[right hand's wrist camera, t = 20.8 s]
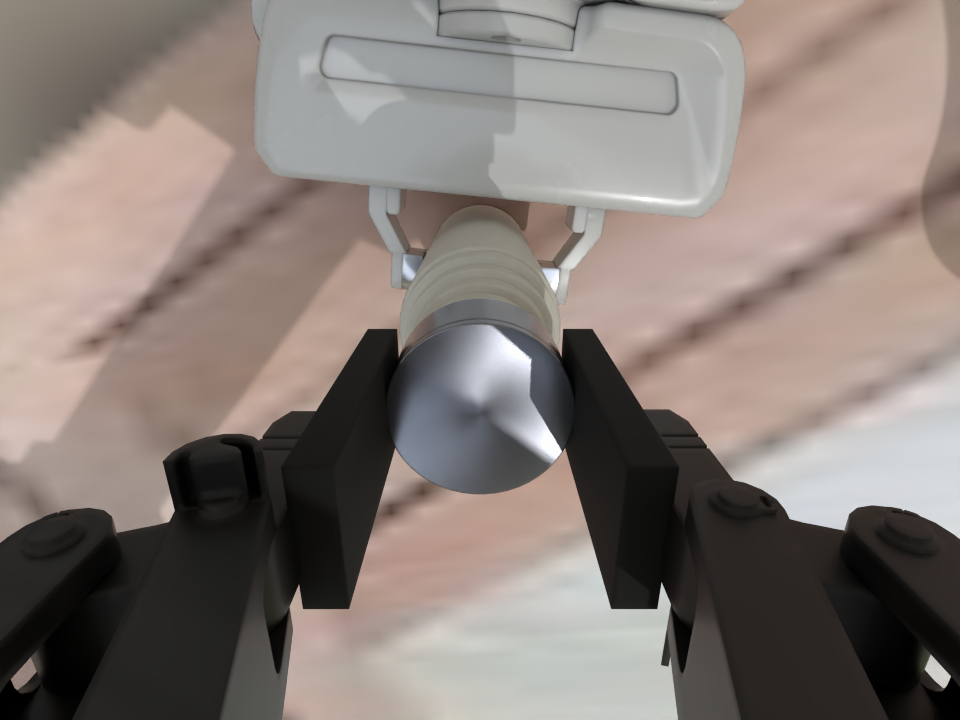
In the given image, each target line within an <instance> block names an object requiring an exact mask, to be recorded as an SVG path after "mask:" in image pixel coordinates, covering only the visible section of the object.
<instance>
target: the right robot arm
mask: <svg viewBox="0 0 960 720" xmlns="http://www.w3.org/2000/svg"><path fill="white" fill-rule="evenodd" d="M398 359H399V354H398V337H397V329H368V330H367V331H366V333H365V335H364V336H363V338H362V339H361V341H360V343H359V344H358V346H357V347H356V349H355V351H354V352H353V354H352V355H351V357H350V358H349V360H348V362H347V363H346V365H345V366H344V368H343V370H342V371H341V373H340V374H339V376H338V377H337V379H336V381H335V382H334V384H333V385H332V387H331V389H330V390H329V392H328V393H327V395H326V396H325V398H324V400H323V401H322V403H321V404H320V406H319V408H318V409H317V411H291V412H290V413H288V414H286V415H285V416H283V417H282V418H280V419H278V420H277V421H275V422H273V423H272V425H271V426H270V427H269V429H268V430H267V431H266V433H265V434H264V435H263V439H260V440H257V439H256V438H255V437H252V436H248V435H243V434H222V435H216V436H211V437H205V438H202V439H199V440H196V441H194V442H191V443H188V444H186V445H184V446H182V447H181V448H179V449H177V450H175V451H173V452H172V453H171V454H170V455H169V456H168V457H167V458H166V459H165V460H164V461H163V465H164V469H165V473H166V477H167V481H168V485H169V489H170V493H171V497H172V501H173V505H174V509H175V512H174V514H173V516H172V518H171V520H170V522H167V523H164V524H160V525H155V526H150V527H145V528H140V529H135V530H130V531H125V532H120V533H117V532H116V529H115V525H114V522H113V519H112V516H110V515H109V514H108V513H107V512H105V511H104V510H99V509H93V508H84V509H73V510H65V511H60V513H53V514H50V515H47V516H45V517H43V518H42V519H40V520H37V521H35V522H33V523H30V524H28V525H26V526H24V527H23V528H21V529H20V530H18V531H17V532H15V533H14V534H12V535H10V536H9V537H7V538H6V539H5V540H4V541H2V542H1V543H0V720H282V715H283V707H284V699H285V691H286V683H287V674H288V666H289V658H290V650H291V642H292V634H293V627H292V620H291V613H290V608H289V607H290V604H291V602H292V599H293V597H294V595H295V592H296V590H297V587H298V585H299V586H300V592H301V598H302V605H303V609H349V607H350V604H351V600H352V597H353V593H354V590H355V586H356V583H357V579H358V576H359V572H360V569H361V565H362V562H363V558H364V555H365V551H366V548H367V544H368V541H369V537H370V534H371V530H372V527H373V523H374V520H375V516H376V513H377V509H378V506H379V502H380V499H381V495H382V492H383V488H384V485H385V481H386V478H387V474H388V471H389V467H390V464H391V460H392V457H393V453H394V450H395V446H394V444H393V442H392V440H391V438H390V435H389V432H388V428H387V415H386V392H387V388H388V384H389V382H390V379H391V377H392V374H393V372H394V369H395V367H396V364H397V361H398ZM562 360H563V363H564V365H565V368H566V370H567V373H568V376H569V378H570V381H571V384H572V386H573V391H574V395H575V406H574V421H573V430H572V433H571V436H570V438H569V441H568V443H567V445H566V447H565V449H566V452H567V456H568V459H569V463H570V466H571V470H572V473H573V477H574V480H575V484H576V487H577V491H578V494H579V498H580V501H581V505H582V508H583V512H584V515H585V519H586V522H587V526H588V529H589V533H590V536H591V540H592V543H593V547H594V550H595V554H596V557H597V561H598V564H599V567H600V571H601V574H602V578H603V581H604V585H605V588H606V592H607V595H608V599H609V602H610V606H611V609H657V607H658V601H659V594H660V588H661V582H662V584H663V586H664V589H665V591H666V593H667V596H668V598H669V600H670V603H671V608H670V613H669V619H668V625H667V631H666V637H665V643H664V649H663V655H662V662H661V665H663V666H669V660H670V657H671V665H672V673H673V681H674V689H675V697H676V706H677V714H678V720H960V539H959V538H957V537H956V536H955V535H954V534H952V533H950V532H949V531H947V530H946V529H944V528H943V527H941V526H939V525H938V524H936V523H934V522H932V521H930V520H928V519H925V518H923V517H921V516H919V515H918V514H916V513H913V512H910V511H906V510H904V511H903V510H902V509H898V508H893V507H882V506H866V507H859V508H857V509H855V510H854V511H853V512H851V513H850V514H849V517H848V520H847V524H846V527H845V530H844V531H843V530H838V529H833V528H828V527H823V526H818V525H812V524H807V523H802V522H799V521H795V520H791V519H789V517H788V515H787V513H786V511H785V509H784V508H783V507H782V506H781V504H780V503H779V502H778V501H777V499H775V498H774V497H772V496H771V495H769V494H768V493H766V492H765V491H763V490H761V489H759V488H756V487H754V486H751V485H749V484H747V483H743V482H738V481H734V480H733V479H732V478H731V477H730V475H729V474H728V473H727V471H726V470H725V469H724V467H723V466H722V465H721V464H720V462H719V461H718V460H717V458H716V457H715V456H714V454H713V453H712V452H711V451H710V449H707V445H706V444H705V443H704V441H703V440H702V439H701V438H700V437H698V434H697V432H696V431H695V430H694V428H693V427H692V426H691V425H690V423H689V422H688V421H687V420H685V419H684V418H682V417H680V416H679V415H677V414H676V413H674V412H672V411H671V410H643V409H642V407H641V405H640V404H639V402H638V401H637V399H636V397H635V396H634V394H633V393H632V391H631V390H630V388H629V386H628V385H627V383H626V382H625V380H624V378H623V377H622V375H621V374H620V372H619V371H618V369H617V367H616V366H615V364H614V363H613V361H612V359H611V358H610V356H609V355H608V353H607V352H606V350H605V348H604V347H603V345H602V344H601V342H600V340H599V339H598V337H597V336H596V334H595V333H594V331H593V329H563V343H562ZM930 655H932V656H933V657H934V658H935V659H936V660H937V661H938V663H939V664H940V665H941V666H942V667H943V668H944V669H945V670H946V671H947V672H948V673H949V675H950V676H951V678H950V680H949V683H948V685H947V686H946V688H945V689H944V688H942V687H941V686H940V685H939V684H938V683H936V682H935V681H934V680H933V679H932V677H931V676H930V675H929V674H928V673H927V672H926V671H925V670H924V669H925V667H926V665H927V662H928V660H929V657H930ZM30 657H31V659H32V661H33V663H34V666H35V668H36V671H37V672H36V673H35V674H34V675H33V677H32V678H31V679H30V680H29V681H28V682H27V683H26V684H25V685H24V686H22V687H21V688H20V689H19V690H18V691H17V690H16V689H15V688H14V686H13V684H12V681H11V678H12V677H13V676H14V675H15V674H16V673H17V672H18V670H19V669H20V668H21V667H22V666H23V665H24V664H25V663H26V662H27V661H28V660H29V658H30Z"/></svg>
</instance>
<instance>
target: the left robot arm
mask: <svg viewBox="0 0 960 720" xmlns="http://www.w3.org/2000/svg"><path fill="white" fill-rule="evenodd" d="M744 2H745V0H251V9H252V20H253V25H254V29H255V33H256V35H257V37H258V39H259V41H260V42H259V49H258V59H257V68H256V81H255V98H254V143H255V149H256V151H257V153H258V155H259V156H260V158H261V159H262V160H263V162H264V163H265V164H266V166H267V167H268V168H269V170H270V171H271V172H272V173H273V174H274V175H276V176H281V177H290V178H300V179H309V180H319V181H329V182H339V183H349V184H359V185H369V209H368V213H369V214H370V216H371V218H372V220H373V222H374V224H375V226H376V228H377V230H378V231H379V233H380V235H381V237H382V239H383V241H384V243H385V245H386V247H387V249H388V250H389V252H392V266H391V287H392V288H395V289H406V290H408V288H409V286H410V284H411V283H412V281H413V279H414V277H415V275H416V273H417V271H418V269H419V267H420V265H421V263H422V262H423V260H424V258H425V256H426V254H427V249H419V248H411V247H410V244H409V242H408V240H407V238H406V236H405V234H404V232H403V230H402V228H401V226H400V223H399V221H398V219H397V217H396V215H397V214H398V213H400V212H401V211H402V210H403V209H405V206H406V189H408V190H418V191H428V192H438V193H448V194H458V195H468V196H477V197H487V198H497V199H507V200H517V201H527V202H537V203H547V204H557V205H566V206H567V214H566V221H565V224H566V226H567V227H568V228H569V229H571V230H572V231H573V234H572V235H571V236H570V238H569V239H568V240H567V242H566V243H565V244H564V246H563V247H562V248H561V250H560V251H559V253H558V254H557V255H556V257H555V258H554V259H553V261H541V260H537V261H538V263H539V265H540V267H541V269H542V270H543V272H544V274H545V276H546V278H547V280H548V282H549V284H550V286H551V288H552V289H553V292H554V294H555V297H556V299H557V303H558V304H563V305H564V304H565V302H566V298H567V292H568V286H569V280H570V273H571V270H574V269H575V268H576V266H577V265H578V264H579V263H580V261H581V260H582V259H583V258H584V257H585V255H586V254H587V253H588V252H589V250H590V249H591V248H592V247H593V245H594V244H595V243H596V242H597V241H598V239H599V238H600V237H601V235H602V229H603V224H604V218H605V213H606V210H616V211H626V212H636V213H645V214H655V215H665V216H675V217H685V218H700V217H702V216H703V215H704V214H705V213H707V212H708V211H709V210H710V209H711V208H712V207H713V206H714V205H715V204H716V203H717V202H718V201H719V200H720V199H721V197H722V196H723V194H724V192H725V189H726V186H727V183H728V179H729V175H730V171H731V167H732V163H733V158H734V153H735V148H736V143H737V138H738V132H739V126H740V119H741V113H742V105H743V97H744V88H745V76H746V66H745V56H744V50H743V47H742V44H741V41H740V39H739V37H738V36H737V34H736V33H735V31H734V30H733V29H732V28H731V27H730V26H729V25H728V24H727V23H725V22H724V21H722V20H723V19H725V18H726V17H728V16H729V15H731V14H732V13H733V12H734V11H735V10H737V9H738V8H739V7H740V6H741V5H742V4H743V3H744Z"/></svg>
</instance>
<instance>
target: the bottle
mask: <svg viewBox="0 0 960 720" xmlns="http://www.w3.org/2000/svg"><path fill="white" fill-rule="evenodd" d="M469 299H492V300H499V301H502V302H506V303H509V304H512V305H514V306H517V307H519V308H521V309H523V310H524V311H526V312H528V313H529V314H531V315H532V316H533V317H535V318H536V319H537V320H538V321H539V322H540V323H541V324H542V325H543V326H544V327H545V328H546V329H547V331H548V332H549V333H550V335H551V336H552V338H553V340H554V341H555V343H556V345H557V348H558V345H559V339H560V312H559V307H558V303H557V299H556V297H555V294H554V292H553V289H552V288H551V286H550V284H549V282H548V280H547V278H546V276H545V274H544V272H543V270H542V269H541V267H540V265H539V263H538V261H537V259H536V257H535V255H534V253H533V251H532V250H531V248H530V246H529V244H528V242H527V240H526V238H525V236H524V234H523V232H522V231H521V229H520V227H519V225H518V224H517V223H516V222H515V220H514V219H513V218H512V217H511V216H509V215H508V214H507V213H505V212H504V211H502V210H500V209H498V208H495V207H492V206H487V205H473V206H468V207H465V208H462V209H460V210H458V211H457V212H455V213H453V214H452V215H451V216H450V217H448V218H447V220H446V221H445V222H444V223H443V224H442V226H441V227H440V229H439V231H438V233H437V235H436V237H435V239H434V241H433V242H432V244H431V246H430V248H429V250H428V252H427V254H426V256H425V258H424V260H423V262H422V263H421V265H420V267H419V269H418V271H417V273H416V275H415V277H414V279H413V281H412V283H411V284H410V286H409V288H408V290H407V292H406V294H405V297H404V300H403V303H402V308H401V313H400V334H401V343H402V348H403V346H404V344H405V342H406V340H407V339H408V337H409V335H410V334H411V332H412V331H413V330H414V329H415V327H416V326H417V325H418V324H419V323H420V322H421V321H422V320H423V319H424V318H426V317H427V316H428V315H430V314H431V313H433V312H434V311H436V310H438V309H440V308H441V307H444V306H446V305H449V304H451V303H454V302H458V301H462V300H469Z"/></svg>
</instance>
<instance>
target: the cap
mask: <svg viewBox="0 0 960 720" xmlns="http://www.w3.org/2000/svg"><path fill="white" fill-rule="evenodd" d="M574 406H575V395H574V391H573V386H572V384H571V381H570V378H569V376H568V373H567V370H566V368H565V365H564V363H563V360H562V358H561V355H560V353H559V350H558V348H557V345H556V343H555V341H554V340H553V338H552V336H551V335H550V333H549V332H548V331H547V329H546V328H545V327H544V326H543V325H542V324H541V323H540V322H539V321H538V320H537V319H536V318H535V317H533V316H532V315H531V314H529V313H528V312H526V311H524V310H523V309H521V308H519V307H517V306H514V305H512V304H509V303H506V302H502V301H499V300H492V299H469V300H462V301H458V302H454V303H451V304H449V305H446V306H444V307H441V308H440V309H438V310H436V311H434V312H433V313H431V314H430V315H428V316H427V317H426V318H424V319H423V320H422V321H421V322H420V323H419V324H418V325H417V326H416V327H415V329H414V330H413V331H412V332H411V334H410V335H409V337H408V339H407V340H406V342H405V344H404V346H403V349H402V351H401V354H400V356H399V359H398V361H397V364H396V367H395V369H394V372H393V374H392V377H391V379H390V382H389V384H388V388H387V392H386V415H387V428H388V432H389V435H390V438H391V440H392V442H393V444H394V446H395V448H396V450H397V451H398V453H399V454H400V455H401V457H402V458H403V460H404V461H405V462H406V463H407V464H408V465H409V466H410V467H411V468H412V469H413V470H414V471H416V472H417V473H418V474H419V475H421V476H422V477H424V478H425V479H427V480H428V481H430V482H432V483H434V484H436V485H438V486H440V487H443V488H446V489H449V490H452V491H456V492H461V493H468V494H492V493H499V492H504V491H508V490H511V489H514V488H517V487H520V486H522V485H524V484H526V483H529V482H530V481H532V480H534V479H535V478H537V477H538V476H540V475H541V474H542V473H544V472H545V471H546V470H547V469H548V468H549V467H550V466H551V465H552V464H553V463H554V462H555V461H556V460H557V459H558V457H559V456H560V455H561V453H562V452H563V450H564V448H565V447H566V445H567V443H568V441H569V438H570V436H571V433H572V430H573V421H574Z"/></svg>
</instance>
